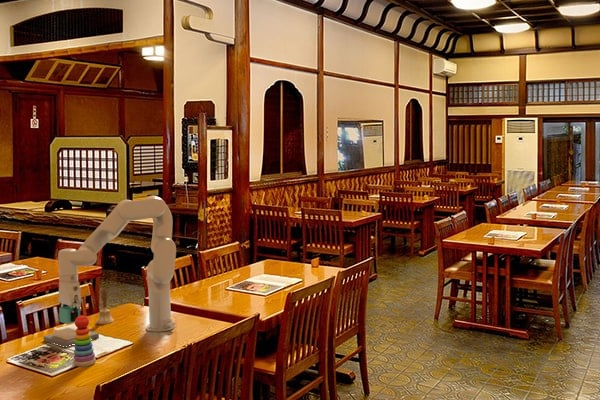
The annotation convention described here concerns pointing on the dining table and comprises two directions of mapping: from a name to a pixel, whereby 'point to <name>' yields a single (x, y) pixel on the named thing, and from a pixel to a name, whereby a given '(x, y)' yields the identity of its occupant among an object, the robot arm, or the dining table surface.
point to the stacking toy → (83, 343)
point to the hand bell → (104, 311)
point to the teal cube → (66, 314)
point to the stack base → (66, 342)
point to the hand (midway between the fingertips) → (69, 319)
